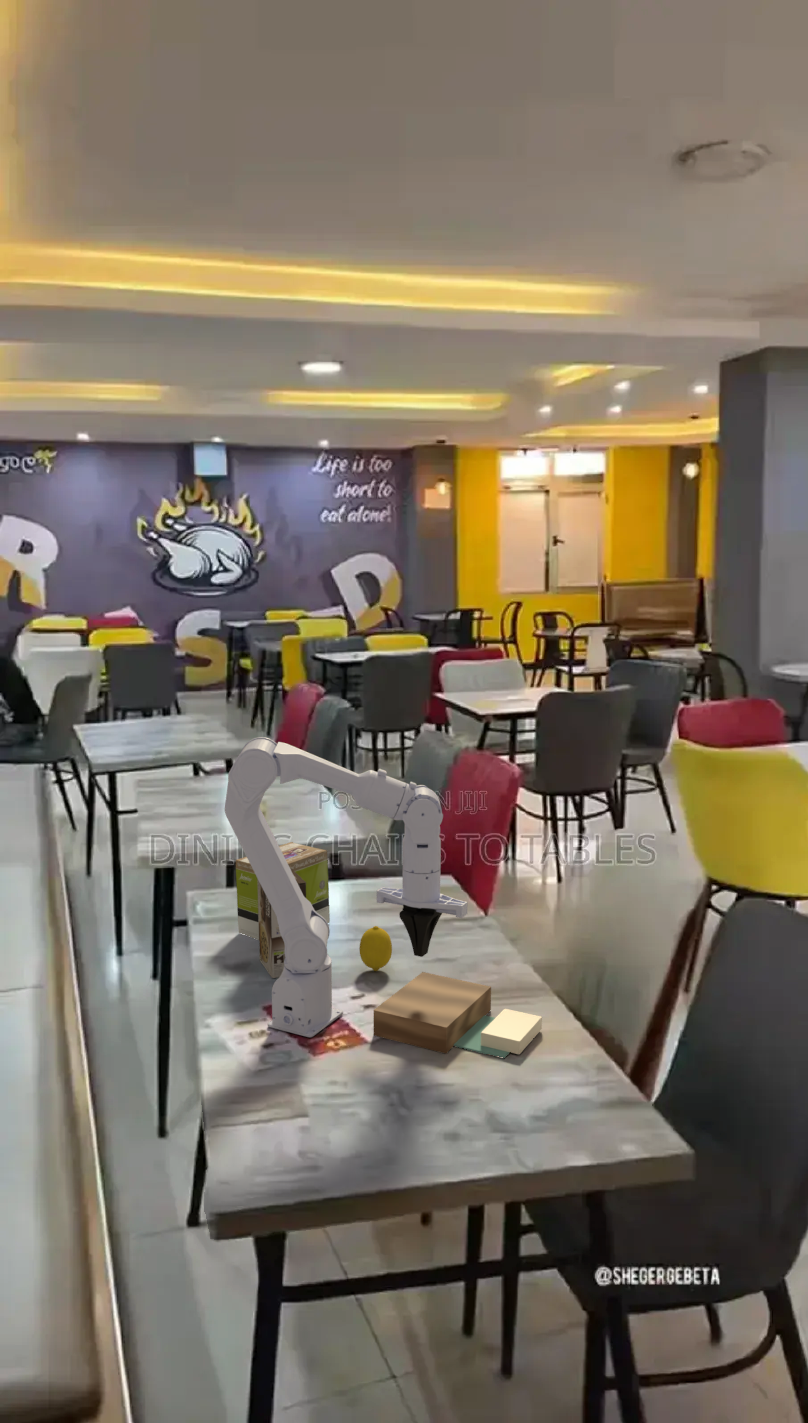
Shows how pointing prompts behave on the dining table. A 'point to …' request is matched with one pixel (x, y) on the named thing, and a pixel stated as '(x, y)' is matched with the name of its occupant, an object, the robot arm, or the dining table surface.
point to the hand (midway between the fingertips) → (420, 953)
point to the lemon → (375, 948)
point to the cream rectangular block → (511, 1031)
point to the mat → (479, 1039)
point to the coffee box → (272, 932)
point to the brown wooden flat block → (432, 1011)
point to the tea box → (301, 860)
